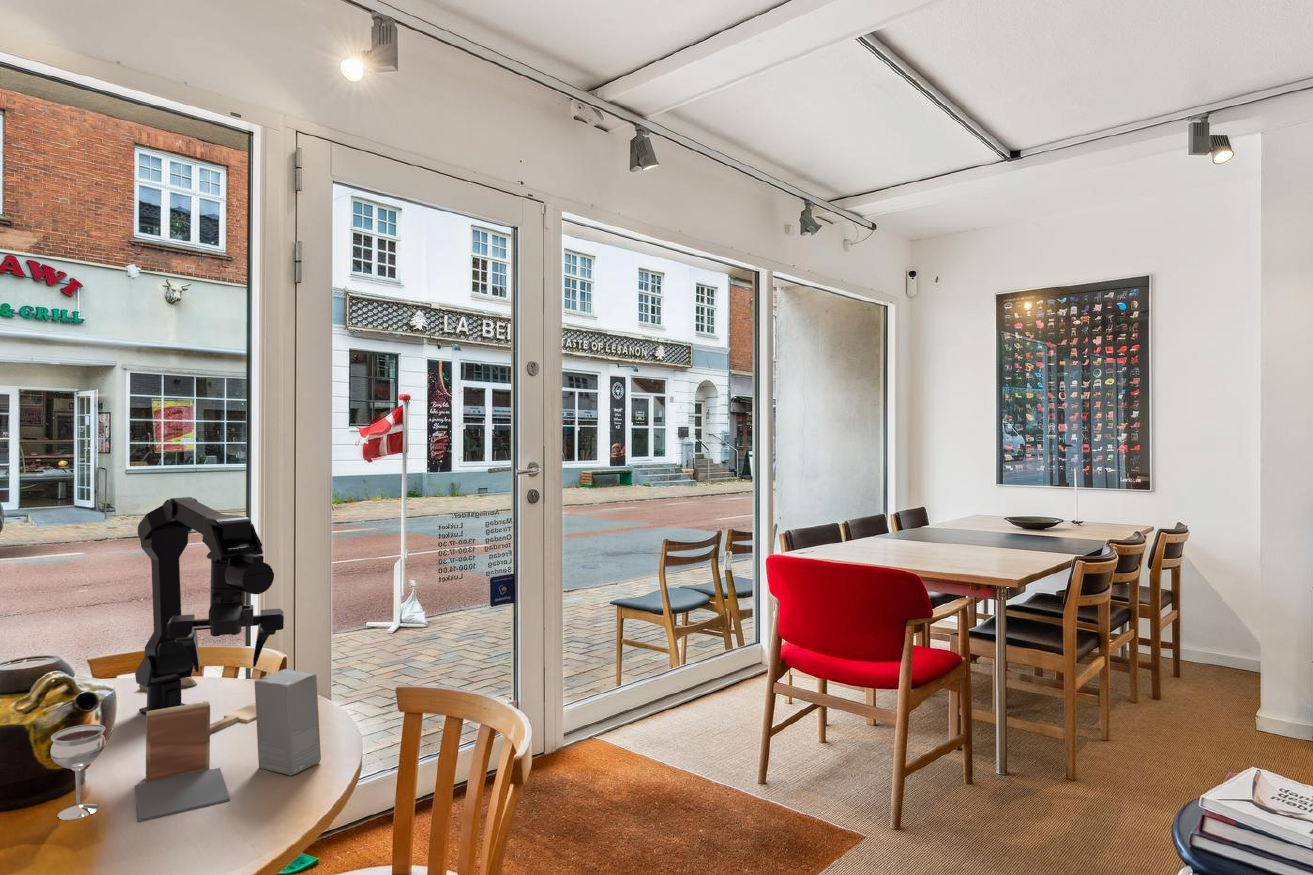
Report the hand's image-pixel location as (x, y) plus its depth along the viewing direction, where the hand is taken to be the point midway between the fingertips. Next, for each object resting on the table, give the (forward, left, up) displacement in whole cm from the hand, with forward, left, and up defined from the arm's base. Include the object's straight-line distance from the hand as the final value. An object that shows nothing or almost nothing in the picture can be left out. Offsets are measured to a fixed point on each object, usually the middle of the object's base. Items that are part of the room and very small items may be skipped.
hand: (226, 668), depth 146 cm
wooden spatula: (-7, +7, -13) cm, 16 cm away
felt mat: (+14, -16, -13) cm, 25 cm away
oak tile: (+6, -12, -13) cm, 19 cm away
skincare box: (+19, -1, -14) cm, 23 cm away
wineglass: (+6, -27, -13) cm, 31 cm away
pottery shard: (-39, +13, -14) cm, 43 cm away
